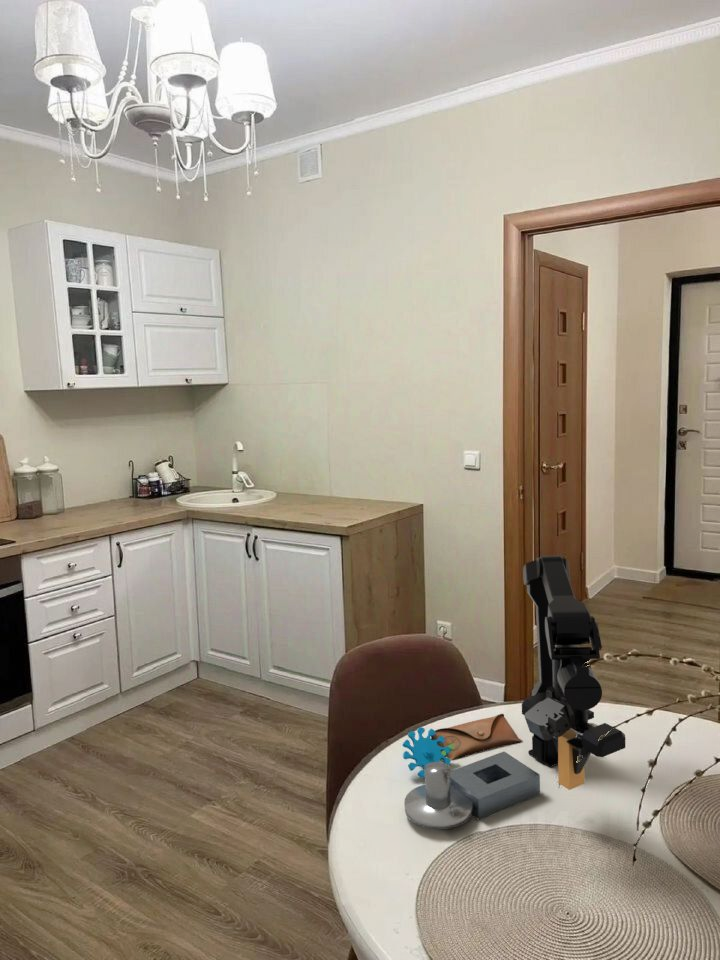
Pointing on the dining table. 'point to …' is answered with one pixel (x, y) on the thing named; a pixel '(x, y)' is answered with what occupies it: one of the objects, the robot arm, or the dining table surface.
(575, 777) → the tan wooden beam
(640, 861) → the dining table surface
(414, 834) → the dining table surface
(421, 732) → the gear
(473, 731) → the sunglasses case
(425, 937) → the dining table surface
